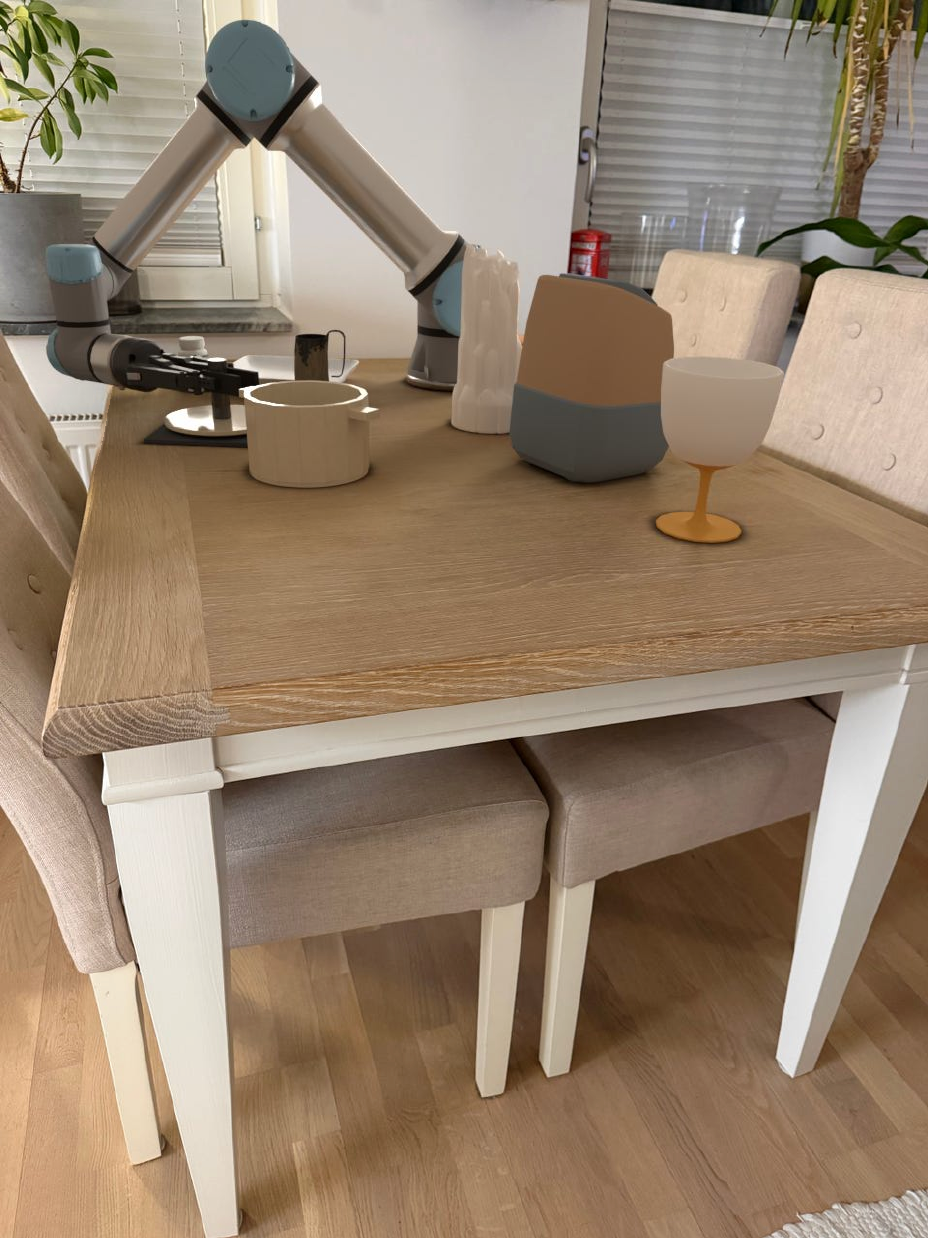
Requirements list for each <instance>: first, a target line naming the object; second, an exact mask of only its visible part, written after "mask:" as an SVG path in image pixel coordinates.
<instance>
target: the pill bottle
mask: <svg viewBox="0 0 928 1238" xmlns="http://www.w3.org/2000/svg"><path fill="white" fill-rule="evenodd" d="M178 346H179V348H180V349H179V350H178V351H177V355H178V356H183V357H189V358H190V357H191V355H193V354H197V355H200V356H201V357H205V358H209V354H208V351H207V349H206V348H204V347H205V339H204V337H203V336H198V335H187V336H181V337H179V338H178ZM187 392H189V393H194V390H192V389H188V391H187ZM203 392H205V391H204V388H202V393H203Z"/></svg>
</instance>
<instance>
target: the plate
mask: <svg viewBox="0 0 928 1238" xmlns="http://www.w3.org/2000/svg"><path fill="white" fill-rule="evenodd" d="M343 359H344V358H331V357H330V358H329V357H328V374H329V381H330V382H339V383H345V382H346V381H347V378H348V377H349V375H351V374H352V373H353V372H354V371H355V370H356V368H357V366H358V365H359V363H360V361H359V360H358V359H348V358H347V359H346V358H345V367H344V371H343V374H342V369H343ZM232 363H233V364H234V368H238V369H243V370H249V371H255V372H258V375H259V385H263V384H267V383H274V382H284V381H295V376H294V356H289V355H259V354H255V355H253V354H252V355H251V354H250V355H249V354H248V355H247V354H246V355H243V356H242V357H240V358H238V359H237V360H234V361H233V362H232ZM341 374H342V376H340V377H339V378H338V377H331V376H339V375H341Z"/></svg>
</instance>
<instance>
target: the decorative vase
mask: <svg viewBox="0 0 928 1238" xmlns="http://www.w3.org/2000/svg"><path fill="white" fill-rule="evenodd" d="M472 244H473V243H468V244H467V246H466V251H465V255H464V261H463V267H462V296H461V333H460V339H459V343H458V374H457V383H456V384H455V386H454V390H452V397H451V398H452V399H451V426H453V427H454V428H455V429H458V430H461V431H464V432H469V433H477V434H486V435H488V434H490V435H495V434H499V435H500V434H509V431H510V421H511V411H512V401H513V391H514V385H515V384H516V382H517V376H518V370H519V364H520V358H521V352H522V345H521V342H520V340H519V338H518V334H519V319H520V301H521V299H520V297H521V287H520V271H519V265H518V262H516V261H511V262H509V260H506V257H505V255H504V253H503V252H502V251H501V250H500V249H499V248H498V249H497V251H496V254H497V255H496V254H488V251H487V249H486V248H485V247H484V248H482V247H483V246H482V247H480V248H478V249H477V251H476V248H475V247H474V246H473V245H472Z"/></svg>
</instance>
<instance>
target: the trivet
mask: <svg viewBox="0 0 928 1238" xmlns="http://www.w3.org/2000/svg"><path fill="white" fill-rule="evenodd" d="M143 444H148V445H149V444H150V445H174V446H175V445H176V446H202V447H203V446H204V447H227V448H228V447H231V448H248V442H247V434H243V435H236V436H200V435H191V434H184V433H179V432H176V431H173V430H170V429H168V428H167V427H166V426H165V424H164V423H163V424H162V425H161V426H159V427H158V428H156V429H155V430H154V431H152V432H151V433H150V434H149V435H147V436H145V437H144V438H143Z"/></svg>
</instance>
